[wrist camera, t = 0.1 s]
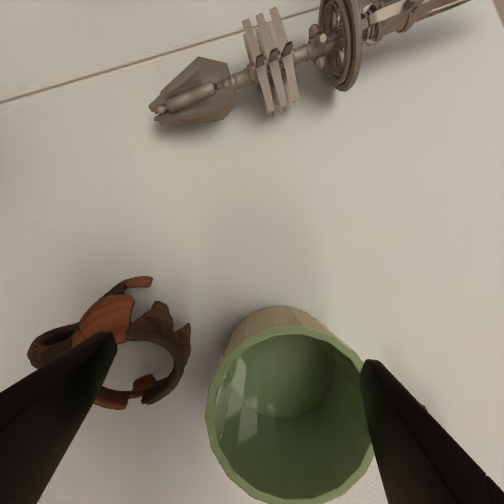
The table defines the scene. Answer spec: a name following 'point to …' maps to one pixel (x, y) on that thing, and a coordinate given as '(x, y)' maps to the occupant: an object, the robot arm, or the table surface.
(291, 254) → the table surface
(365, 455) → the green round container
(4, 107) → the table surface
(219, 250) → the table surface
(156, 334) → the gnarled wooden root
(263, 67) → the spaceship
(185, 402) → the table surface
